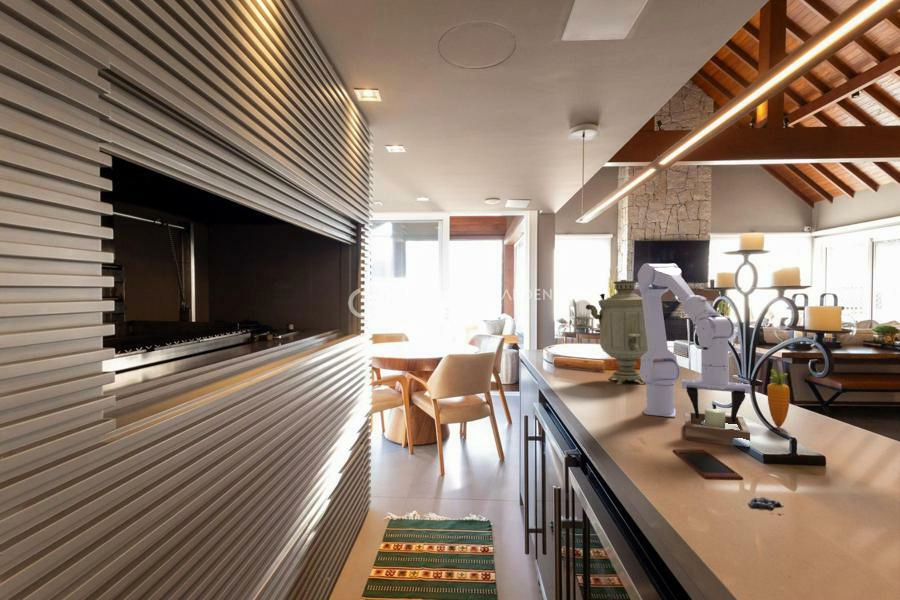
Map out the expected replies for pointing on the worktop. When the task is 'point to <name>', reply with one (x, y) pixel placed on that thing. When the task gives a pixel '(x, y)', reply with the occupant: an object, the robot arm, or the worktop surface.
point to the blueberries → (764, 504)
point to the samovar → (622, 329)
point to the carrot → (778, 398)
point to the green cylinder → (714, 418)
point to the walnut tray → (714, 430)
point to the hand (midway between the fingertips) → (714, 419)
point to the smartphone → (707, 464)
